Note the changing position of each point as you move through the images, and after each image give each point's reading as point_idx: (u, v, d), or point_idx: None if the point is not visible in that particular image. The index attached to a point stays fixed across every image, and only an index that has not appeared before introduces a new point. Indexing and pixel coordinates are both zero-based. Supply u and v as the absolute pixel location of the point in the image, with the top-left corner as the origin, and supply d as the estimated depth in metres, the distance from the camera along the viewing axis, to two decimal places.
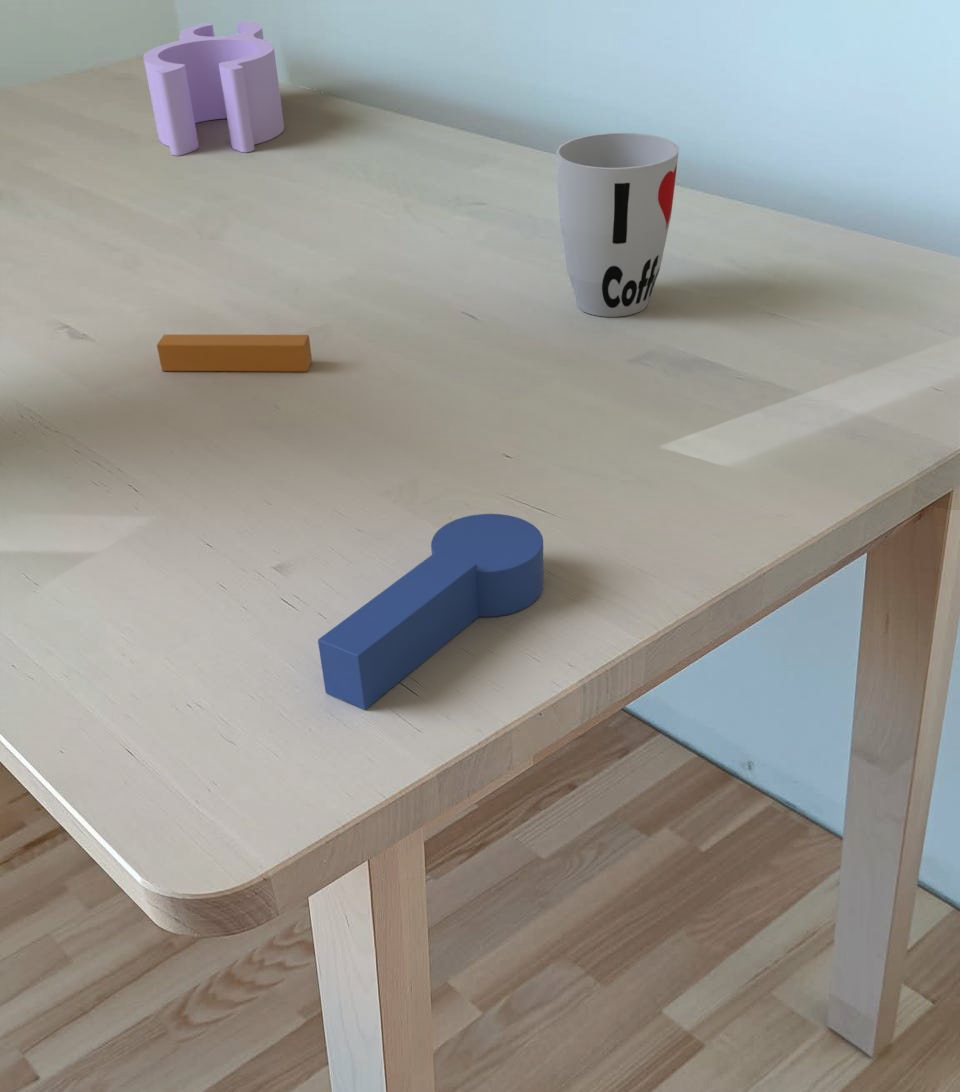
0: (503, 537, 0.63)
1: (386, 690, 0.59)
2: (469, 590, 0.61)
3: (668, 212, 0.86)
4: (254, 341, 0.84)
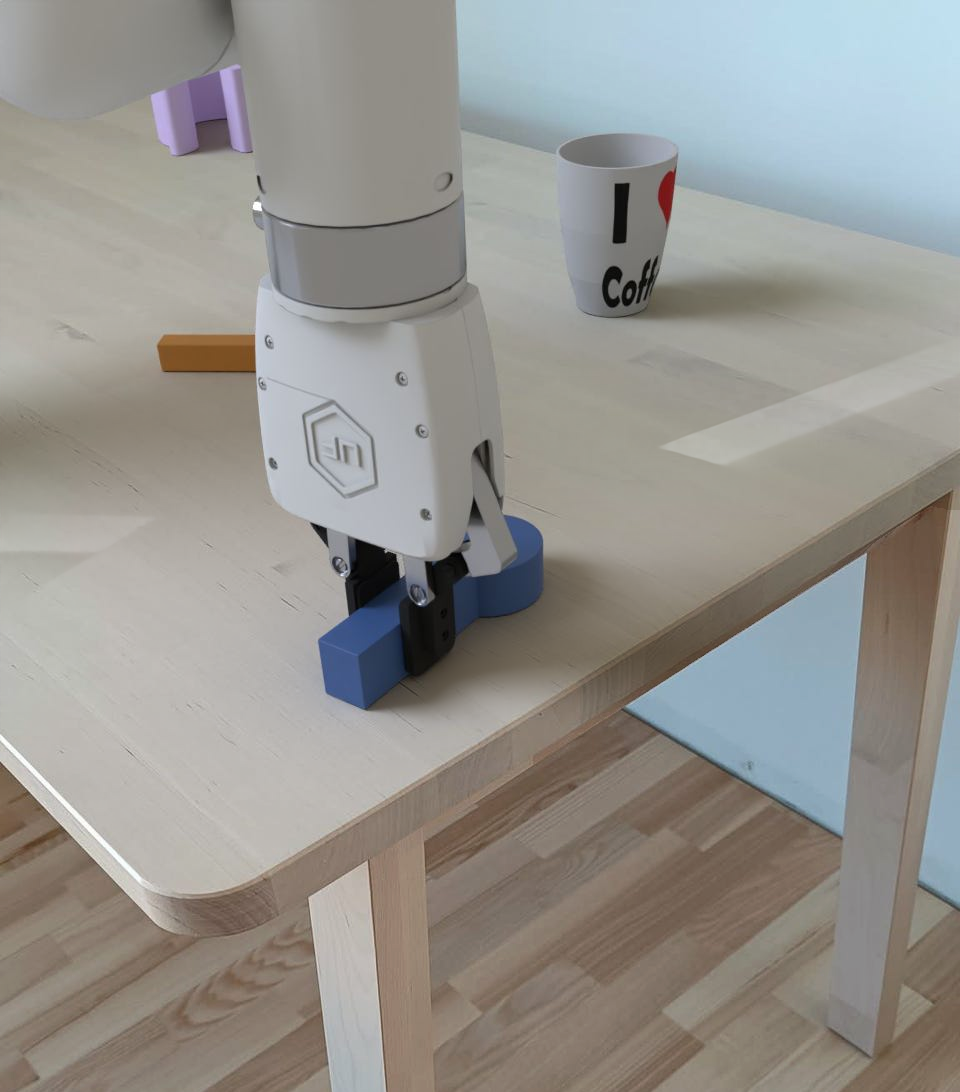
0: None
1: (386, 690, 0.59)
2: (469, 589, 0.61)
3: (668, 212, 0.86)
4: (254, 341, 0.84)
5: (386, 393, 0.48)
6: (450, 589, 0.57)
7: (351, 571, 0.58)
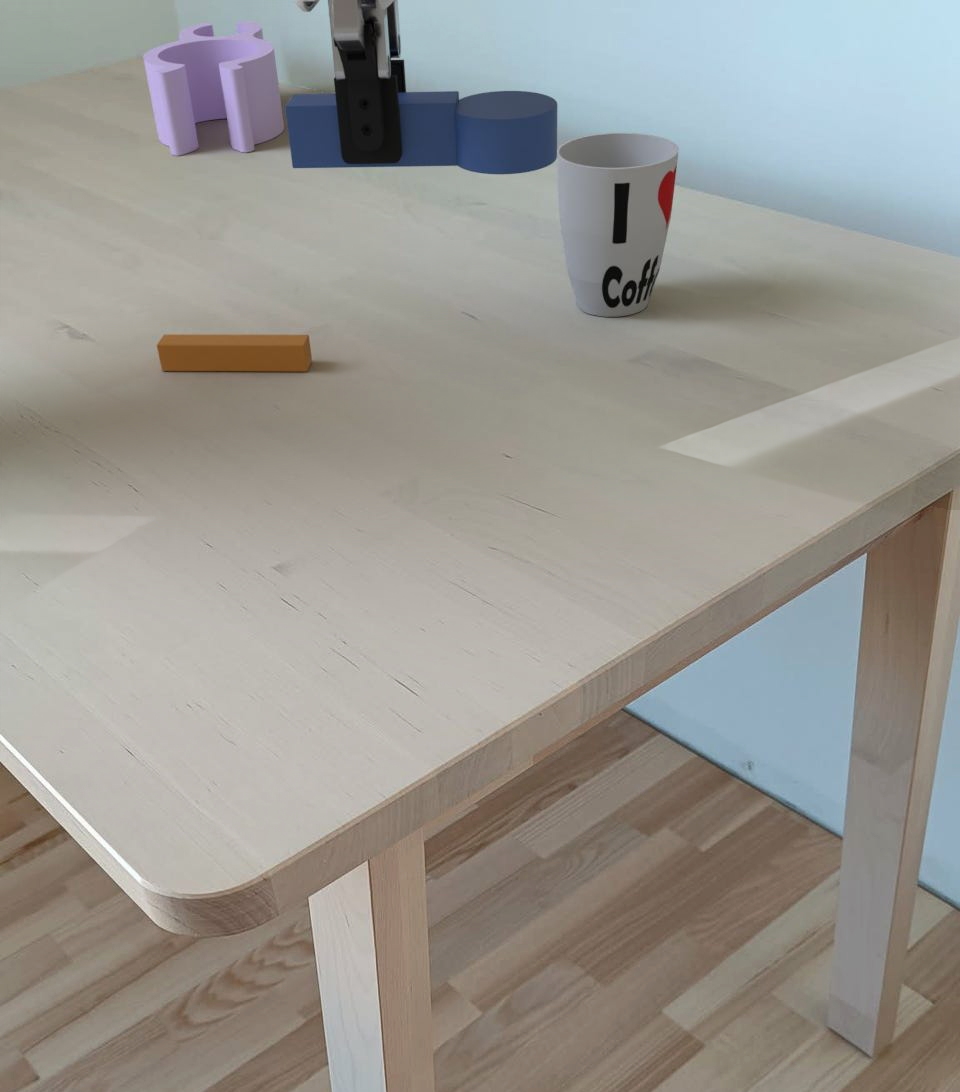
0: (518, 106, 0.67)
1: (321, 165, 0.69)
2: (442, 126, 0.67)
3: (668, 212, 0.86)
4: (254, 341, 0.84)
5: None
6: (374, 83, 0.65)
7: None
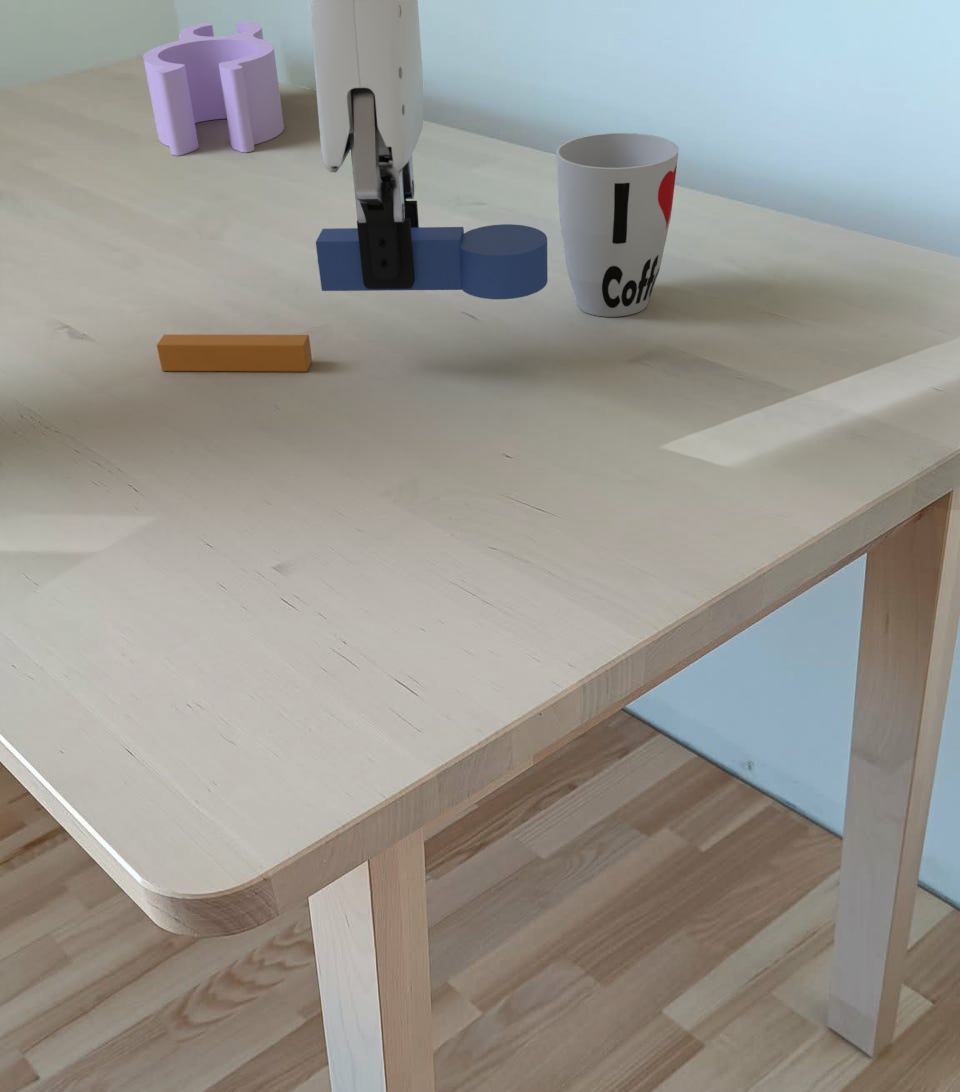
0: (513, 242, 0.78)
1: (346, 289, 0.80)
2: (449, 258, 0.79)
3: (668, 212, 0.86)
4: (254, 341, 0.84)
5: None
6: (391, 226, 0.76)
7: None
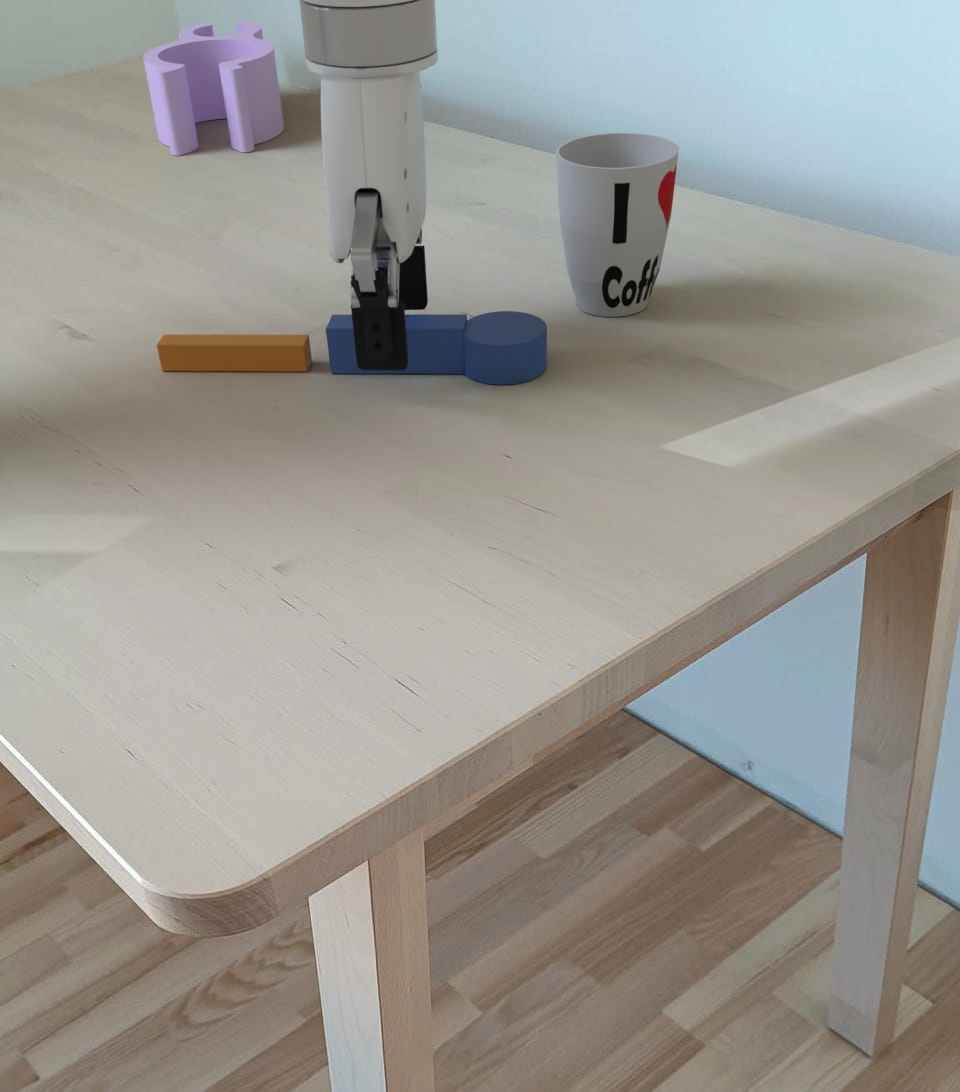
0: (514, 330, 0.82)
1: (354, 372, 0.84)
2: (453, 345, 0.82)
3: (668, 212, 0.86)
4: (254, 341, 0.84)
5: None
6: (385, 311, 0.77)
7: None
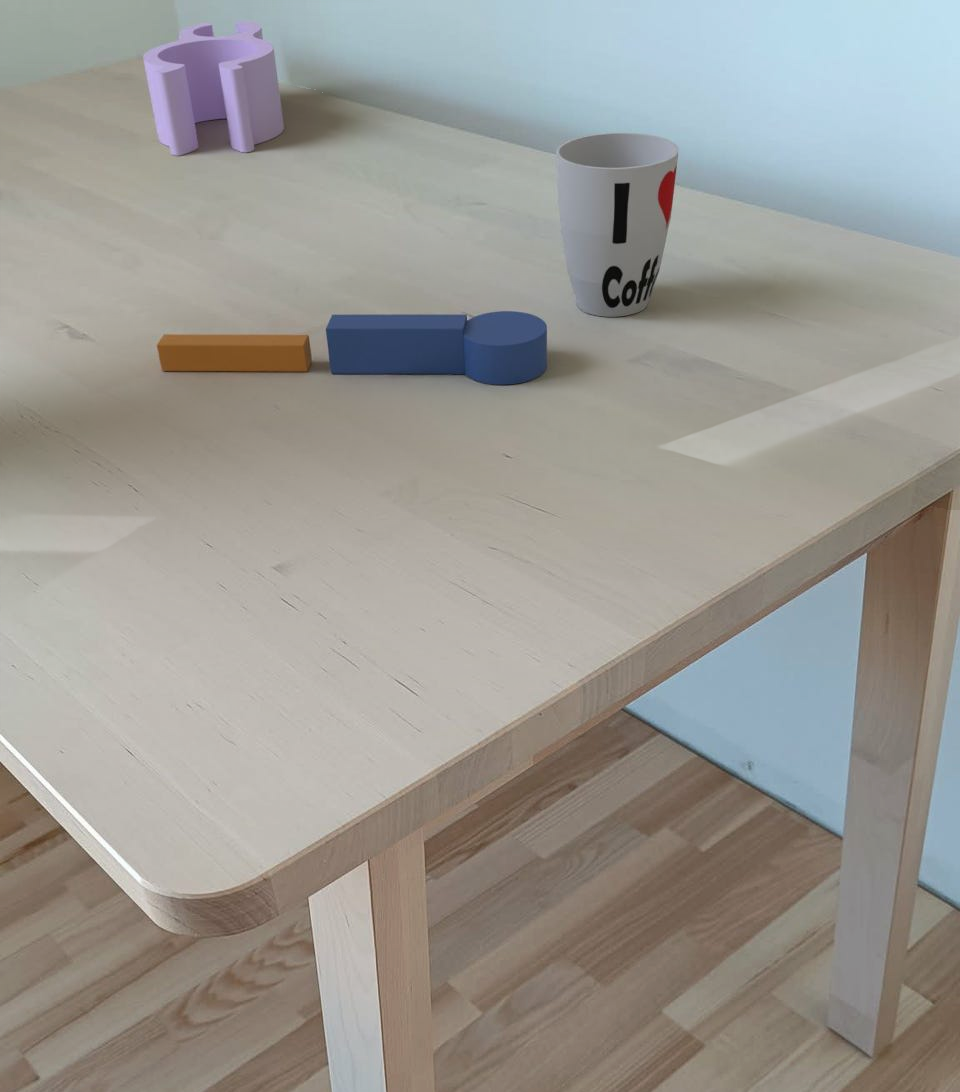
0: (514, 330, 0.82)
1: (354, 372, 0.84)
2: (453, 345, 0.82)
3: (668, 212, 0.86)
4: (254, 341, 0.84)
5: None
6: None
7: None
